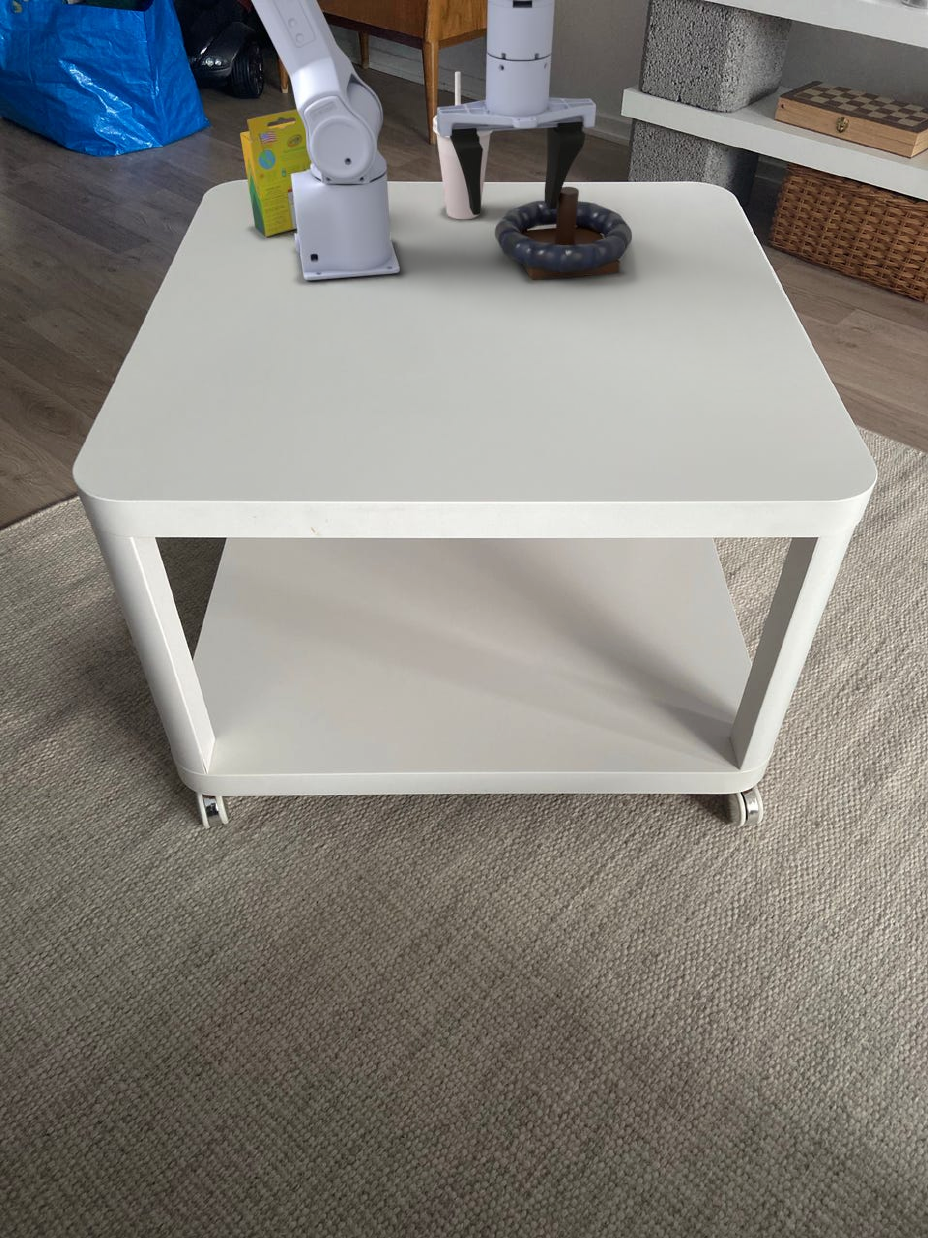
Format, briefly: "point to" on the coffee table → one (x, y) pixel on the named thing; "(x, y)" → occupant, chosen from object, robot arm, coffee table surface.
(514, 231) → the dark blue ring
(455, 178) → the smoothie
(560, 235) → the wooden ring toss peg
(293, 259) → the coffee table surface
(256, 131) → the crayon box
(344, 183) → the robot arm
